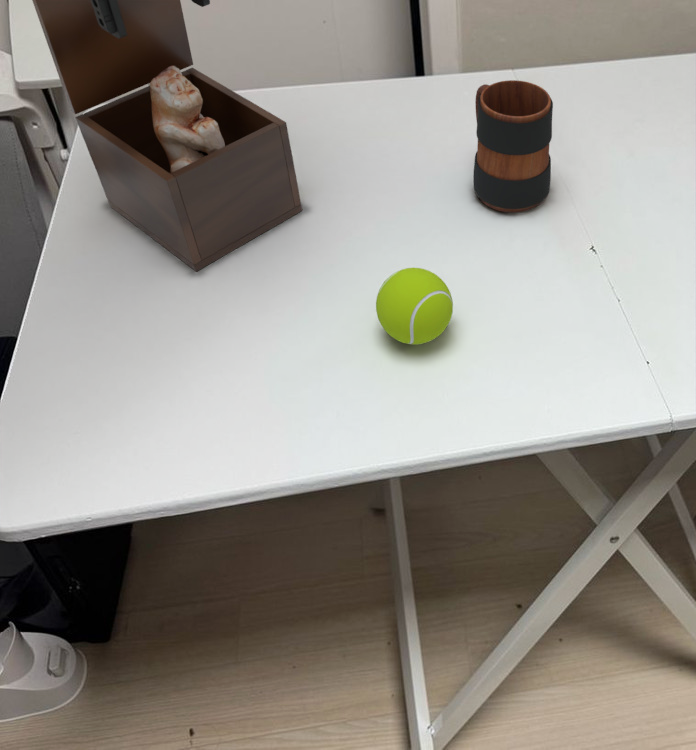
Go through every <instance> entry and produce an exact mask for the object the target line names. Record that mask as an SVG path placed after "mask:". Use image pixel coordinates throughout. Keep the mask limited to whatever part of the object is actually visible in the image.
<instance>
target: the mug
mask: <svg viewBox="0 0 696 750" xmlns="http://www.w3.org/2000/svg"><path fill="white" fill-rule="evenodd" d="M474 101H475V118H476V131H475V132H476V133H475V134H476V138H477V147H476V148H477V149H476V150H477V151H476V152H475V155H474V163H473V175H472V176H473V177H472V178H473V179H472V180H473V181H472V183H473V190H474V192H475V194H476V196H477V197H479V200H480V201H481V202H482V204H484V205H485V206H487V207H488V208H490V209H493V210H495V211H498V212H502V213H510V214H511V213H515V214H516V213H523V212H527V211H530V210H533V209H534V208H536V207H538V206H539V205H540V204H541V203H542V202H543V201H544V200H545V199H546V198H547V197H548V195H549V193H550V189H551V177H552V159H551V155H550V143H551V141H552V138H553V112H554V111H553V110H554V102H553V98H551V96H550V94H549V93H548V91H547V90H546V89H544V88H543V87H541V85H538V84H535V83H533V82H529V81H524V80H516V79H515V80H514V79H513V80H510V79H509V80H501V81H497V82H494V83H492V84H490V85H489V84H485V83H484V84H482V85H480V86H479V87H477V90H476V94H475V100H474Z"/></svg>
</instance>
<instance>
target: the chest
mask: <svg viewBox="0 0 696 750" xmlns="http://www.w3.org/2000/svg"><path fill="white" fill-rule="evenodd" d="M180 72H181V73H182V76H184V77H185V78H187V80H188V81H190V82H191V83H192V84H193V85H194V86H195V87H196V88H198V89H199V91H200V94H201V97H202V99H203V104H202V107H201V111H200V114H201V115H202V116H203V117H209V118H212V119H213V120H215V121H216V122H217V123H218V126H219V131H220V133H221V135H222V137H223V140H224V143H225V147H223V148H221V149H219V150H217V151H215V152H213V153H211V154H209V155H207V156H205V157H203V158H201V159H199V160H197V161H195V162H193V163H190V164H188V165H186V166H184V167H182V168H180V169H178V170H176V171H174V172H172V173H171V172H170V170H171V167H170V164H169V161H168V157H167V155H166V152H165V150H164V149H163V147H162V145H161V143H160V142H159V140H158V138H157V137H156V134H155V132H154V128H153V120H152V102H151V94H150V85H148V86H145V87H143V88H139V89H138V90H136V91H133V92H131V93H128V94H127V95H124V96H122V97H119V98H117V99H115V100H112V101H110V102H106V103H105V104H103V105H100V106H99V107H96V108H93V109H91V110H89V111H86V112H84V113H81V114H78V115H76V116H75V120H76V123H77V125H78V128H79V130H80V133H81V137H82V138H83V141H84V144H85V146H86V149H87V151H88V154H89V156H90V158H91V161H92V163H93V166H94V169H95V172H96V174H97V176H98V179H99V182H100V184H101V186H102V189H103V191H104V194H105V196H106V197H105V198H106V199H107V201H108V204H109V206H110V207H111V208H112V209H113V210H114V211H116V212H117V213H119V214H120V215H121V216H123V217H124V218H125V219H127V220H128V221H129V222H131V224H133V225H134V226H135V227H137V228H138V229H140V230H141V231H143V232H144V234H146V235H148V236H149V237H150V238H152V239H153V240H154V241H155V242H157V243H158V244H160V245H161V246H162V247H164V248H165V250H167V251H169V252H170V253H171V254H172V255H174V256H175V257H177V258H178V259H179V260H180V261H182V262H183V263H184V264H186V265H187V266H189V267H190V268H191V269H192V270H193V271H195V272H198V271H200V270H202V269H203V268H205V267H207V266H208V265H210V264H212V263H214V262H215V261H218V260H219V259H221V258H222V257H224V256H226V255H228V254H230V253H232V252H233V251H235V250H236V249H238V248H240V247H241V246H243V245H245V244H246V243H248V242H251V241H253V240H254V239H255V238H258V237H259V236H261V235H262V234H264V233H266V232H268V231H269V230H271V229H273V228H274V227H277V226H278V225H280V224H282V223H283V222H285V221H287V220H288V219H290V218H293V217H294V216H295V215H297V214H299V213H301V212H303V206H302V200H301V196H300V190H299V186H298V178H297V173H296V169H295V163H294V158H293V157H294V156H293V153H292V147H291V140H290V135H289V130H288V125H287V122H286V121H285V120H283V119H282V118H280V117H278V116H277V115H275V114H272V112H269V111H268V110H266V109H264V108H263V107H261V106H259V105H258V104H256V103H254V102H253V101H251V100H250V99H247V98H246V97H244V96H242V95H240V94H238V93H237V92H235V91H233V90H232V89H230V88H229V87H227V86H225V85H223V84H222V83H220V82H218V81H217V80H215V79H213V78H211V77H209V76H208V75H207V74H204V73H202V72H201V71H199V70H198V69H196V68H194V67H190V68H188V69H186V70H183V71H180Z"/></svg>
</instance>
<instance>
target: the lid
mask: <svg viewBox="0 0 696 750" xmlns="http://www.w3.org/2000/svg"><path fill="white" fill-rule="evenodd" d="M32 3H33V6H34V9H35V12H36V15H37V18H38V20H39V24H40V27H41V30H42V32H43V36H44V37H45V41H46V44H47V46H48V49H49V53H50V55H51V58H52V60H53V64H54V67H55V69H56V72H57V75H58V78H59V81H60V84H61V86H62V89H63V92H64V95H65V98H66V101H67V103H68V106H69V108H70V111H71V112H72V113H73V114H74V115H79V114H80V113H83V112H85V111H87V110H90V109H92V108H94V107H96V106H99V105H102V104H104V103H107V102H108V101H111V100H113V99H115V98H118V97H121V96H122V95H125V94H128V93H130V92H132V91H134V90H136V89H140V88H142V87H144V86H146V85H150V82H151V81H152V79H153V78H155V77H156V76H158V75H159V74H160V72H162V71H163V70H165V69H166V68H168V67H169V66H175V67H176V68H178V69H180V71H181V70H184V69H187V68H189V67H192V66H193V65H194V61H193V56H192V51H191V47H190V42H189V36H188V32H187V27H186V22H185V18H184V12H183V8H182V3H181V0H117V3H118V6H119V9H120V12H121V16H122V19H123V22H124V25H125V28H126V32H127V36H125V37H123V38H120V39H118V38H117V37H115V36H113V35H112V34H110V33H109V32H107V31H105V30H104V29H102V28H101V26H100V25H99V24H98V21H97V18H96V15H95V12H94V9H93V6H92V3H91V0H32Z"/></svg>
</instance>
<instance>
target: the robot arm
mask: <svg viewBox="0 0 696 750" xmlns="http://www.w3.org/2000/svg"><path fill="white" fill-rule="evenodd" d="M191 2H192V3H194V4H195V5H197V6H199V7H201V8H204V7H206V6H209V5H210V4H211V0H191ZM91 3H92V6H93V9H94V12H95V15H96V18H97V21H98V24H99V25H100V26H101V28H102V29H104V30H105V31H107V32H109V33H110V34H112V35H113V36H115V37H117V38H118V39H120V38H123V37H125V36H127V32H126V28H125V25H124V22H123V19H122V16H121V12H120V9H119V6H118V3H117V0H91Z"/></svg>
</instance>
